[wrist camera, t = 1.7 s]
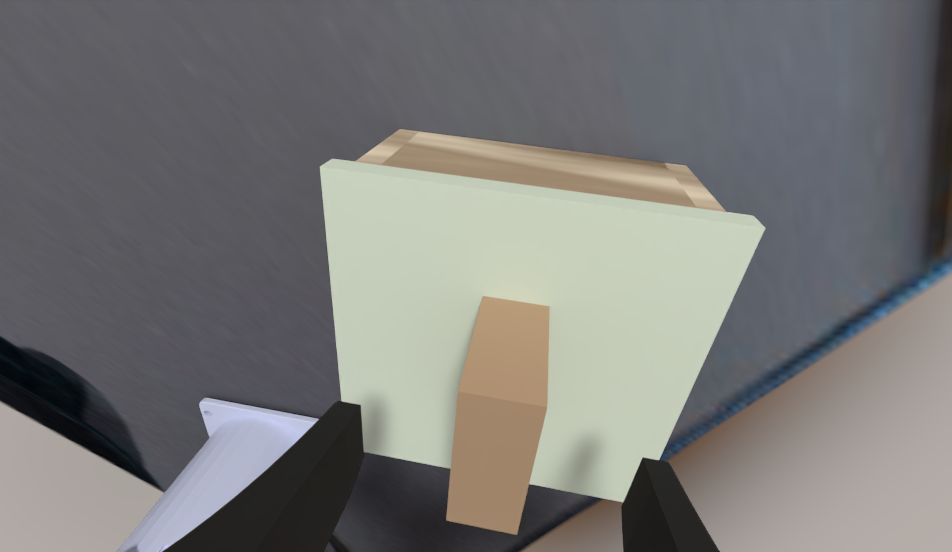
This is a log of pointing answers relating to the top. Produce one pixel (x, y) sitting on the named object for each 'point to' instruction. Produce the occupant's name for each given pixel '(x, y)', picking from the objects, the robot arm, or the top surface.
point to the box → (543, 168)
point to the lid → (521, 326)
